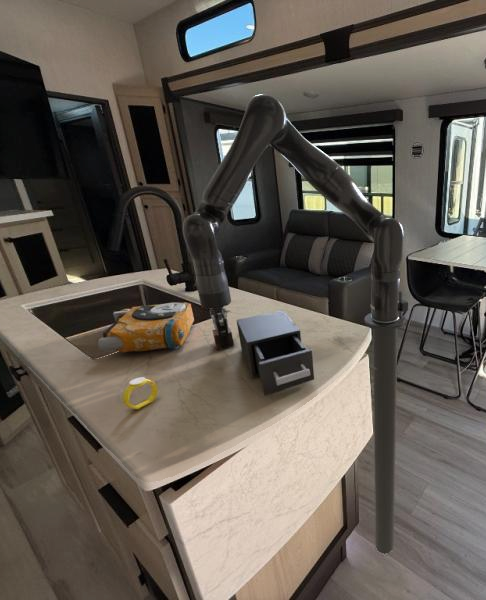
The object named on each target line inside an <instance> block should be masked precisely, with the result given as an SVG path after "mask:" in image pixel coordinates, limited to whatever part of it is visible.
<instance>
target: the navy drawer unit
mask: <svg viewBox="0 0 486 600" xmlns="http://www.w3.org/2000/svg"><path fill="white" fill-rule="evenodd" d="M236 326H237V331H238V332H237V333H238V337H239V344H240V350H241V353H242V355H243V357H244V360H245V362H246V364H247V367H248V369H249V372H250V374H251V376H252V378H257V377H260V375H259V373H258V371H257V369H256V367H255V364H254V359H253V353H252V347H251V345H252V344H256V343H260V342H265V341H269V340H273V339H277V338H281V337H285V336H290V335H294V334H295V336H296V337H297V338H298V339H299V340H300V342H301V343H302V336H301V330H300V328H299V327H298V326H297V325H296V324H295V322H294V321H293V320H292V319H291V318H290V317H289V316H288V315H287V314H286V313H285V311H284V310H279V311H278V310H277V311H274V312H269V313H264V314H263V313H262V314H259V315H253V316H248V317H242V318H238V319H236Z"/></svg>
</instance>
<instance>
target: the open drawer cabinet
mask: <svg viewBox="0 0 486 600" xmlns="http://www.w3.org/2000/svg"><path fill="white" fill-rule="evenodd" d="M251 347H252V353H253V359H254V364H255V367H256V369H257V371H258V373H259V375H260V376H259V378H260V380H261V386H262V392H263V396H267V395H272V394H274V393H277V392H280V391H283V390H287V389H289V388H292V387H296V386H299V385H302V384H306V383H308V382H312V381H314V380H315V371H314V360H313V359H314V358H313V350H312V349H311V348H307V349H306V346H305V345H304V344H303V343H302V341H301V342H300V340H299V339H298V338H297V337H296V336H295V334H294V335H290V336H285V337H281V338H277V339H273V340H269V341H265V342H260V343H256V344H252V345H251Z"/></svg>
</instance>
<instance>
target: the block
mask: <svg viewBox="0 0 486 600" xmlns="http://www.w3.org/2000/svg"><path fill="white" fill-rule="evenodd" d="M222 332H226V331H225V330H224V331H221V332H220V333H222ZM228 333H229V336H228V339H229V344H230V347H229V348H232V347H234V346H235V343H234V338H233V332H232V329H231V327H230V326H228ZM212 334H213V339H214V344H215V348H216V350H217V351H219V350H223V349H222V348H221V344H220V339H219V337H218V331H217V330H216V329H215V328H214V329H212Z"/></svg>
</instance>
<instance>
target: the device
mask: <svg viewBox="0 0 486 600" xmlns="http://www.w3.org/2000/svg"><path fill="white" fill-rule="evenodd" d="M113 317H114V320H115V321H114V322H113V323H112V324H111V325H110V326H109V327H108V328H106V330H104V331H103V333H102V337H101V338H99V340H98V342H97V347H98V349H99V351H111V350H115V351H118V352H120V353H131V352H145V351H153V350H162V349H170V350H177V349H178V348H179V347H181V346H182V345H183V343H184V342H185V340H186V339H187V336H188V334H189V332H190V331H191V327H192V325H193V324H194V322H195V318H194V313H193V309H192V304H191V303H189V302H167V303H160V304H150V305H140V306H139V305H138V306H132V307H131V308H124V309H121V310H120V311H113Z"/></svg>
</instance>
